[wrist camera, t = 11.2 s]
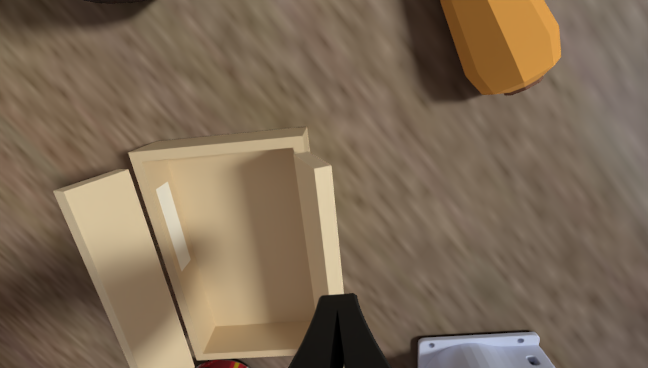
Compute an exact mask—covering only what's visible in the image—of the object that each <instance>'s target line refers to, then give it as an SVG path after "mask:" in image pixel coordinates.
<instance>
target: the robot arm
mask: <svg viewBox="0 0 648 368" xmlns="http://www.w3.org/2000/svg"><path fill="white" fill-rule="evenodd" d="M539 341H540V338H539V336H538V335H537V334H536V333H535V332H521V333H502V334H484V335H465V336H447V337H429V338H421V339H420V340H419V341H418V368H555V366H554V365H553V364H552V362H551V361H550V360H549V358H548V357H547V356H546V354H545V353H544V352H543V350H542V349H541V348H540V346H539ZM430 343H432V344H430ZM343 367H344V368H392V367H391V366H390V364H389V363H388V361H387V360H386V358H385V356H384V355H383V353H382V351H381V350H380V348H379V346H378V344H377V343H376V341H375V339H374V337H373V335H372V333H371V331H370V329H369V327H368V325H367V323H366V321H365V319H364V316H363V314H362V311H361V309H360V306H359V303H358V299H357V295H355V294H354V293H350V294H336V295H322V296H321V297H320V298H319V300H318V304H317V307H316V310H315V313H314V315H313V318H312V320H311V323H310V325H309V328H308V330H307V332H306V334H305V336H304V339H303V341H302V343H301V345H300V347H299V349H298V351H297V353H296V354H295V356H294V358H293V360H292V362H291V364H290V366H289V367H288V368H343Z"/></svg>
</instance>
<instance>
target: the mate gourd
mask: <svg viewBox="0 0 648 368" xmlns="http://www.w3.org/2000/svg"><path fill="white" fill-rule="evenodd" d="M85 1H90V2H95V3H106V4H115V3H127V2H128V3H133V2H140V1H145V0H85Z"/></svg>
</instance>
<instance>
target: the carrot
mask: <svg viewBox="0 0 648 368" xmlns="http://www.w3.org/2000/svg"><path fill="white" fill-rule="evenodd" d="M440 2H441V5H442V8H443V11H444V14H445V17H446V20H447V23H448V26H449V29H450V32H451V35H452V38H453V41H454V44H455V46H456V49H457V52H458V55H459V58H460V61H461V64H462V67H463V70H464V73H465V76H466V77H467V78H468V79H469V81H470V82H471V83H472V84H473V85H474V86H475V87H476V88H477V89H478V90H479V92H480V93H481V94H482V95H490V94H501V93H504V95H514V94H516V93H519V92H521V91H524V90H527V89H528V88H530V87H532V86H534V85H536V84H537V83H539V82H540V81H541V80H542V79H543V75H544V74H545V73H546V72H547V71H548V70H550V69H551V68H552V67H553V66H554V65H555V64H556V62H557V61H558V60H559V58H560V57H561V48H560V34H559V25H558V24H557V22H556V20H555V18H554V17H553V15H552V13H551V12H550V10H549V8H548V7H547V5H546V3H545V1H544V0H440Z"/></svg>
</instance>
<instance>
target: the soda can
mask: <svg viewBox="0 0 648 368" xmlns="http://www.w3.org/2000/svg"><path fill="white" fill-rule="evenodd" d="M196 368H249V367H247V366H246V365H244V364H242V363H240V362H238V361H234V360H228V359H222V360H212V361H208V362H205V363H203V364H200V365H199V366H197V367H196Z"/></svg>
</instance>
